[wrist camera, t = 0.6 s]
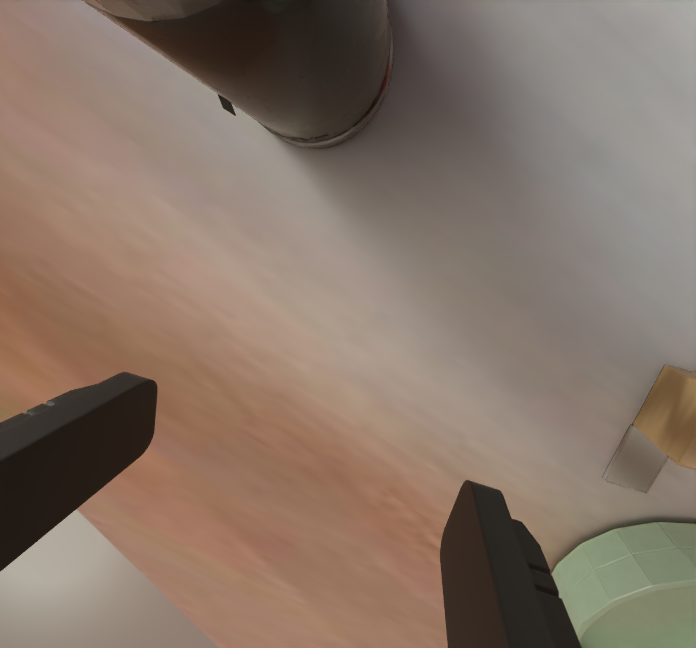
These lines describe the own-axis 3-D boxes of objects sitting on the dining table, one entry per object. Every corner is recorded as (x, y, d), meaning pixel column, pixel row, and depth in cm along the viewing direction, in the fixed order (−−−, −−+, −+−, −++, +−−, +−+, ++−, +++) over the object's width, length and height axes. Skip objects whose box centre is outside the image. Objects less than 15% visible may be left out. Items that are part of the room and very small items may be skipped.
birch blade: (662, 364, 22) (718, 394, 18) (709, 376, 22) (776, 409, 18) (602, 477, 25) (638, 525, 21) (643, 489, 24) (688, 540, 20)
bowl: (590, 486, 25) (630, 543, 20) (847, 561, 23) (954, 643, 19) (510, 637, 30) (527, 711, 25) (717, 709, 28) (775, 803, 24)
